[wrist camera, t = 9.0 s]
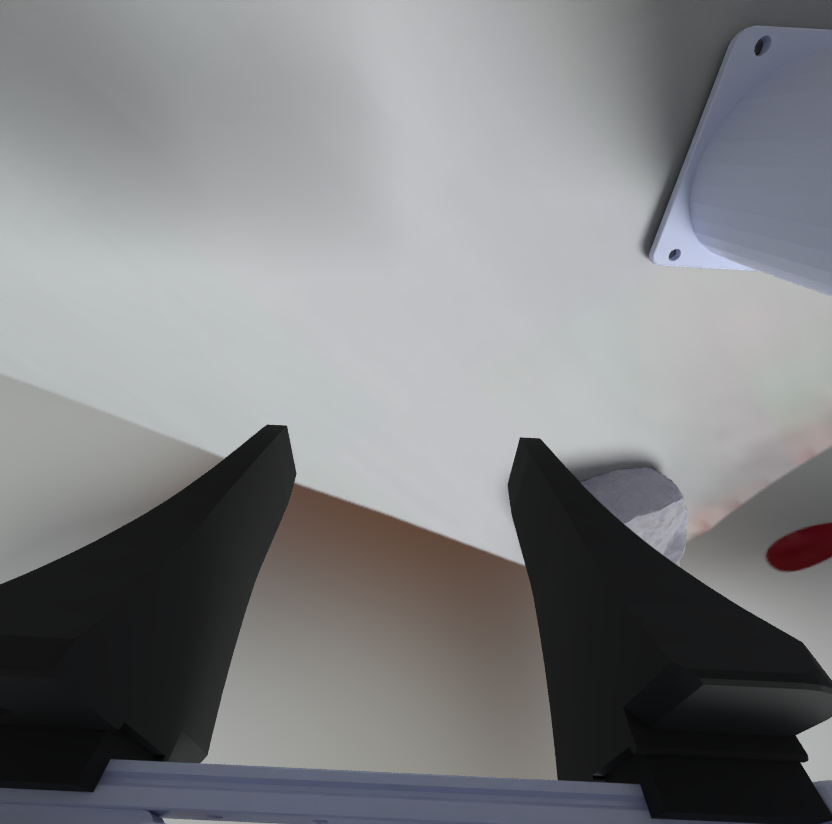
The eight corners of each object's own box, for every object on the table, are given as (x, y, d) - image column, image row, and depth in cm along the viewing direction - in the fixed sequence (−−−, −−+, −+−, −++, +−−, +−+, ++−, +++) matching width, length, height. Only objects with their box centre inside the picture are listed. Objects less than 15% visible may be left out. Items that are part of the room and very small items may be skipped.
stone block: (650, 439, 27) (521, 491, 27) (705, 486, 23) (552, 545, 23) (649, 532, 33) (545, 572, 34) (692, 581, 29) (573, 625, 30)
